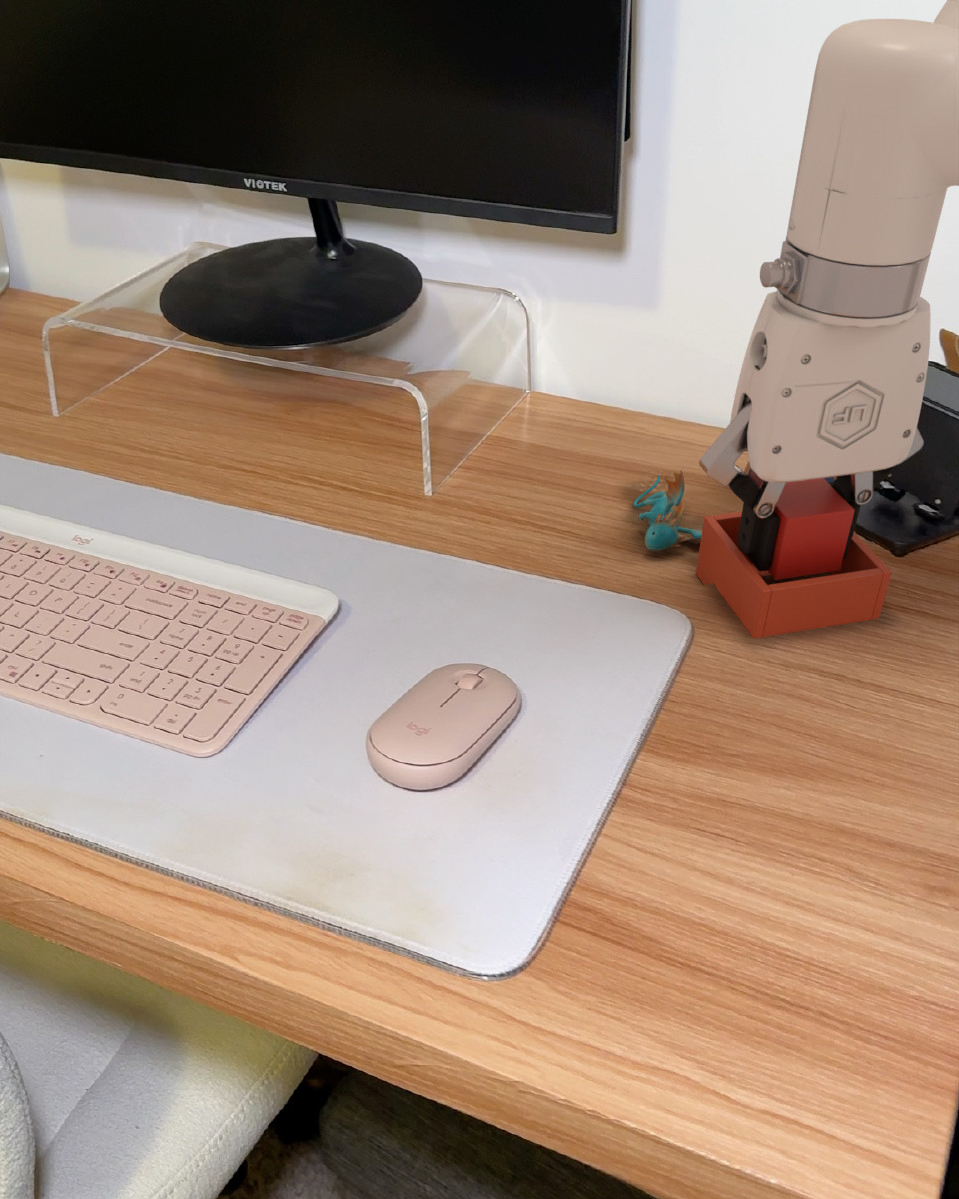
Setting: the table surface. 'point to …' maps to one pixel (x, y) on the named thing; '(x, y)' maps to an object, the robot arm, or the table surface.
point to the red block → (810, 529)
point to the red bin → (789, 585)
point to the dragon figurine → (665, 516)
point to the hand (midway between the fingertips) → (792, 551)
